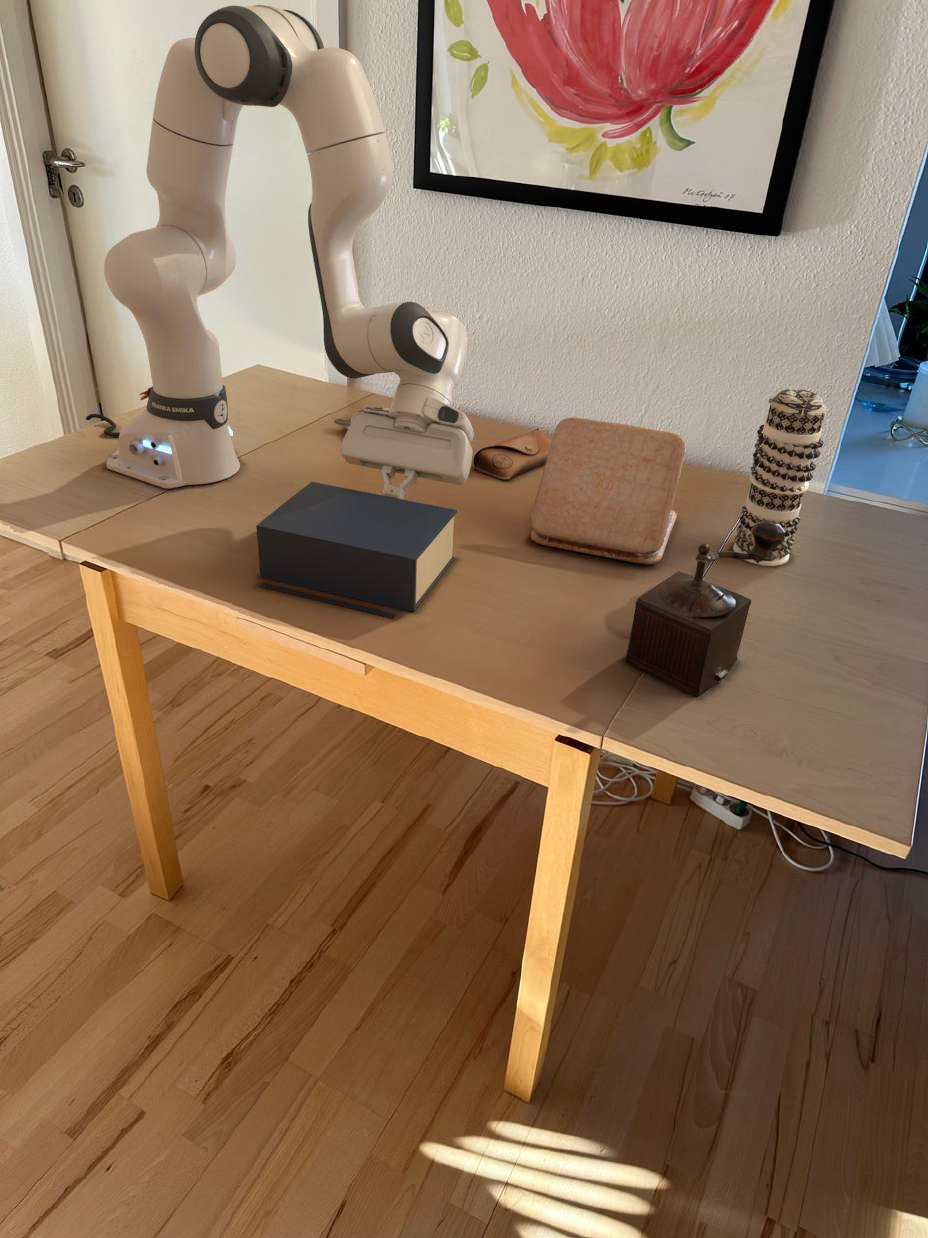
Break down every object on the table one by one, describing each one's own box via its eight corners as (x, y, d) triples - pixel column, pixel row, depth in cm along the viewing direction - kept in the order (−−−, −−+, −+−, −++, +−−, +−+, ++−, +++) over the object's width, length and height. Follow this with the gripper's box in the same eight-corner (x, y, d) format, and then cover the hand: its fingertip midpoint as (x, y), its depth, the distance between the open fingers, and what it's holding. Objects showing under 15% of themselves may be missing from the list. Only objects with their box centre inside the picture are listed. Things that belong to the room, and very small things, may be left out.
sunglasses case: (509, 480, 157) (496, 443, 155) (481, 488, 162) (468, 453, 160) (569, 454, 168) (558, 419, 167) (541, 462, 173) (530, 429, 172)
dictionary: (260, 577, 125) (256, 525, 121) (313, 529, 138) (311, 481, 134) (414, 612, 120) (415, 559, 115) (454, 559, 132) (457, 509, 128)
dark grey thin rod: (258, 586, 123) (258, 585, 123) (262, 583, 124) (262, 582, 124) (393, 618, 118) (393, 618, 118) (396, 615, 119) (396, 614, 119)
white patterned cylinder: (763, 572, 134) (805, 409, 120) (717, 546, 140) (753, 388, 127) (804, 559, 138) (850, 400, 125) (758, 534, 144) (797, 380, 131)
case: (523, 545, 137) (532, 445, 129) (559, 493, 154) (569, 402, 146) (656, 573, 132) (675, 471, 123) (678, 516, 149) (696, 423, 140)
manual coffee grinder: (702, 701, 106) (734, 567, 96) (622, 662, 112) (645, 532, 102) (761, 648, 116) (795, 522, 107) (685, 616, 122) (711, 494, 112)
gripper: (350, 395, 138) (322, 477, 135) (476, 416, 133) (449, 503, 130) (362, 414, 144) (336, 493, 141) (483, 435, 139) (459, 518, 136)
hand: (391, 498), depth 136 cm, fingers closed
